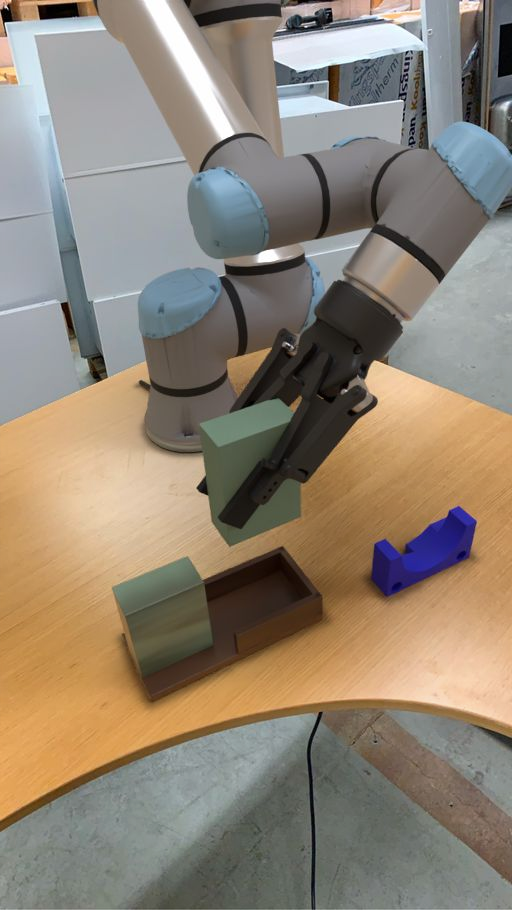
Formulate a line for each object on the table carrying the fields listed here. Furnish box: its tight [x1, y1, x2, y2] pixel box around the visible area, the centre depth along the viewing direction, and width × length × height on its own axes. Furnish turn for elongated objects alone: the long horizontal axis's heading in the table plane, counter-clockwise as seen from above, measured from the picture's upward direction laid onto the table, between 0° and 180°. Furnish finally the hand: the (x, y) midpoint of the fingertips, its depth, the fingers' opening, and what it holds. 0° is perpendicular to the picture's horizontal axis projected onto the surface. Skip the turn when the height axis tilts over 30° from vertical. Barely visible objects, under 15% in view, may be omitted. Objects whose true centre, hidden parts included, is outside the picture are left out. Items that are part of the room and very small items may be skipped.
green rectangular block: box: [199, 398, 302, 548], centre depth 61 cm, size 4×8×12 cm, turn 118°
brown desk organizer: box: [111, 545, 324, 703], centre depth 68 cm, size 9×20×11 cm, turn 118°
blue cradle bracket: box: [370, 505, 478, 598], centre depth 76 cm, size 12×4×6 cm, turn 118°
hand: (218, 508), depth 61 cm, fingers closed on green rectangular block, 4 cm apart
